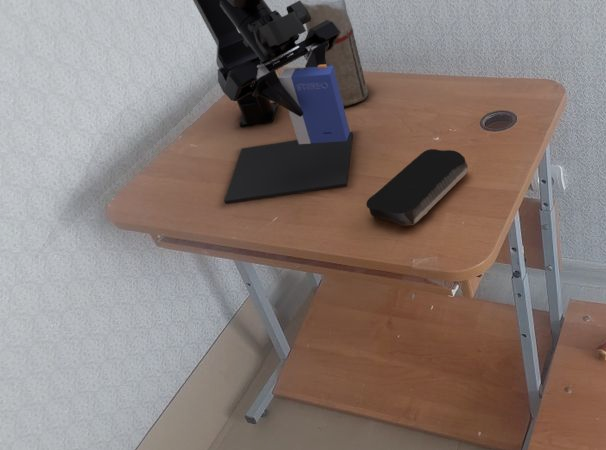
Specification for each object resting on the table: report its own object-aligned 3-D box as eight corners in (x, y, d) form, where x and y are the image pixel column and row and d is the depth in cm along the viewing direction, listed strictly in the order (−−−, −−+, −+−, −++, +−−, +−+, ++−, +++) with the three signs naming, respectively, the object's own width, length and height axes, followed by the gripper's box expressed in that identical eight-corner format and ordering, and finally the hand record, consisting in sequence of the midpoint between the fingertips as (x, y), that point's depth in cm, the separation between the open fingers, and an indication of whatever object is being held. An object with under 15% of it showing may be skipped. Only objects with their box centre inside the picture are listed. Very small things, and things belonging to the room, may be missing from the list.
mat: (242, 151, 124) (241, 148, 124) (353, 134, 123) (352, 131, 122) (225, 203, 113) (223, 201, 112) (346, 186, 111) (345, 183, 111)
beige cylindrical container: (326, 90, 136) (297, -9, 124) (368, 82, 136) (342, -18, 124) (326, 112, 130) (294, 10, 117) (369, 104, 130) (342, 1, 117)
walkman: (350, 131, 111) (332, 62, 103) (346, 141, 109) (329, 72, 101) (302, 134, 112) (281, 66, 104) (298, 144, 110) (276, 75, 102)
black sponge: (409, 237, 100) (405, 217, 97) (366, 219, 104) (360, 200, 102) (474, 173, 109) (471, 154, 106) (431, 160, 113) (427, 141, 111)
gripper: (205, 18, 93) (276, 114, 94) (317, -34, 101) (381, 54, 102) (199, 57, 103) (263, 143, 103) (301, 6, 111) (359, 86, 112)
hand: (318, 105), depth 105 cm, fingers closed on walkman, 6 cm apart
